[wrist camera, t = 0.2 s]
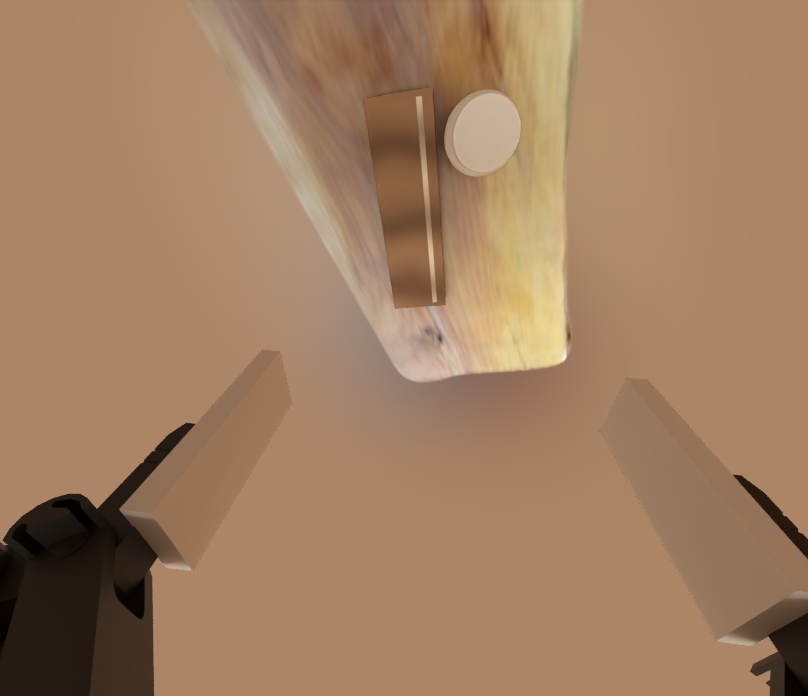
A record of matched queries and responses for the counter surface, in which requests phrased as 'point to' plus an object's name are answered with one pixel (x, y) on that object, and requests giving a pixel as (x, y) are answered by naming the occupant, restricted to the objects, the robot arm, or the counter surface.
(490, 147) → the pill bottle
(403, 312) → the counter surface
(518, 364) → the counter surface
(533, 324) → the counter surface
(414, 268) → the plank
